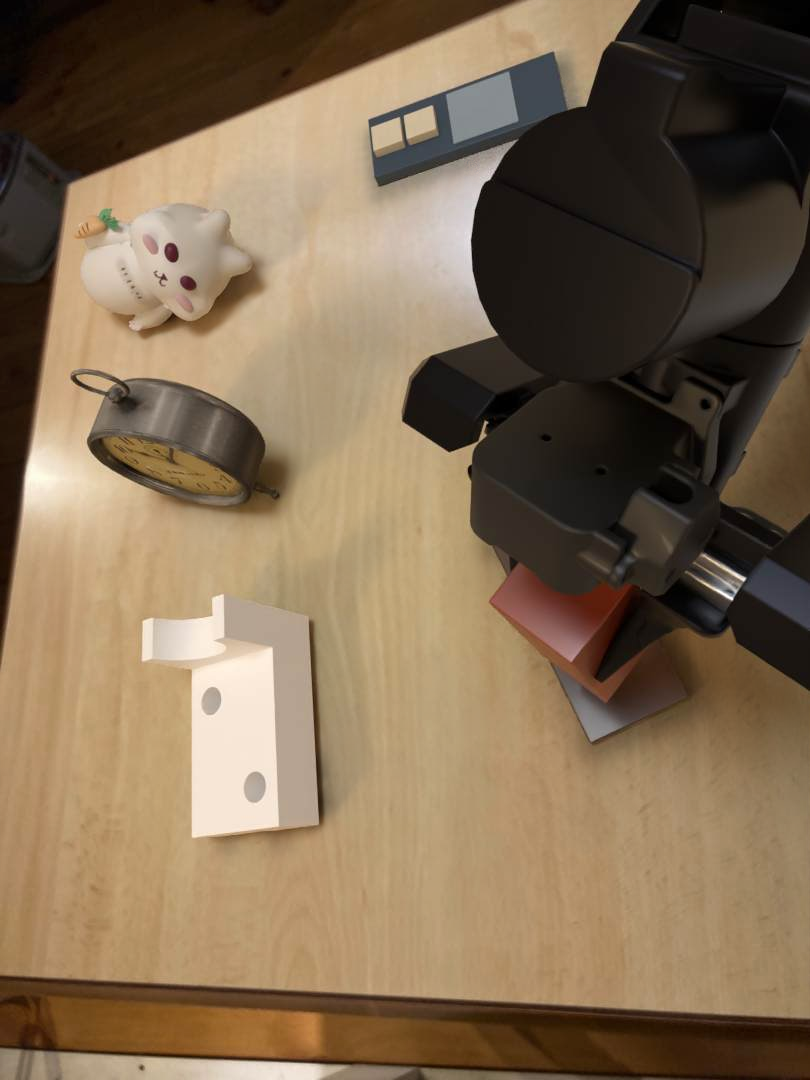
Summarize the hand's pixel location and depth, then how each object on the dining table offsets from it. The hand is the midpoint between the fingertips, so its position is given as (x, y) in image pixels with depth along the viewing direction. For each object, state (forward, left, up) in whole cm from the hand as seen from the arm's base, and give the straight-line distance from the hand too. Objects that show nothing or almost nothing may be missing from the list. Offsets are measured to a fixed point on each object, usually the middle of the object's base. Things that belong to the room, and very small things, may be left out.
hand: (561, 646), depth 36 cm
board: (-1, -4, -13) cm, 14 cm away
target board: (-11, -43, -13) cm, 46 cm away
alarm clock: (+17, -25, -14) cm, 33 cm away
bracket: (+21, -7, -14) cm, 26 cm away
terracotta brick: (-1, -1, -6) cm, 6 cm away
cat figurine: (+15, -43, -14) cm, 48 cm away
